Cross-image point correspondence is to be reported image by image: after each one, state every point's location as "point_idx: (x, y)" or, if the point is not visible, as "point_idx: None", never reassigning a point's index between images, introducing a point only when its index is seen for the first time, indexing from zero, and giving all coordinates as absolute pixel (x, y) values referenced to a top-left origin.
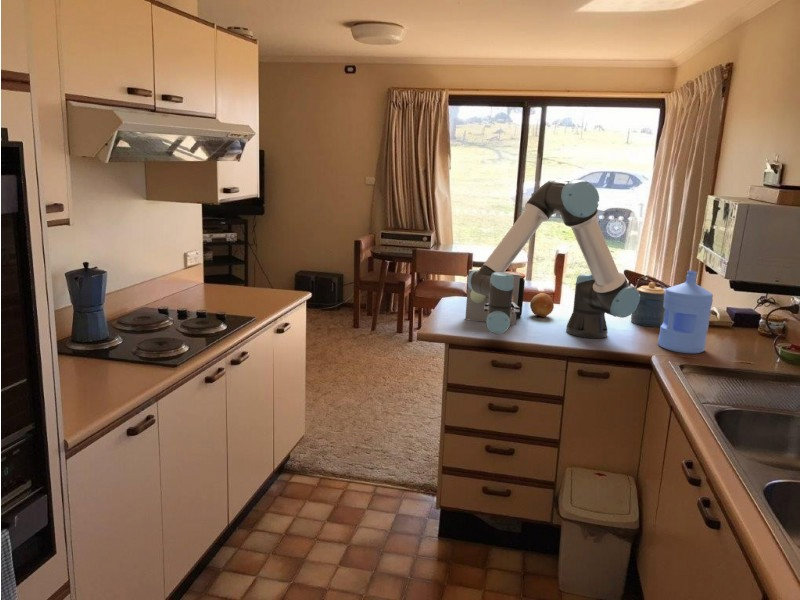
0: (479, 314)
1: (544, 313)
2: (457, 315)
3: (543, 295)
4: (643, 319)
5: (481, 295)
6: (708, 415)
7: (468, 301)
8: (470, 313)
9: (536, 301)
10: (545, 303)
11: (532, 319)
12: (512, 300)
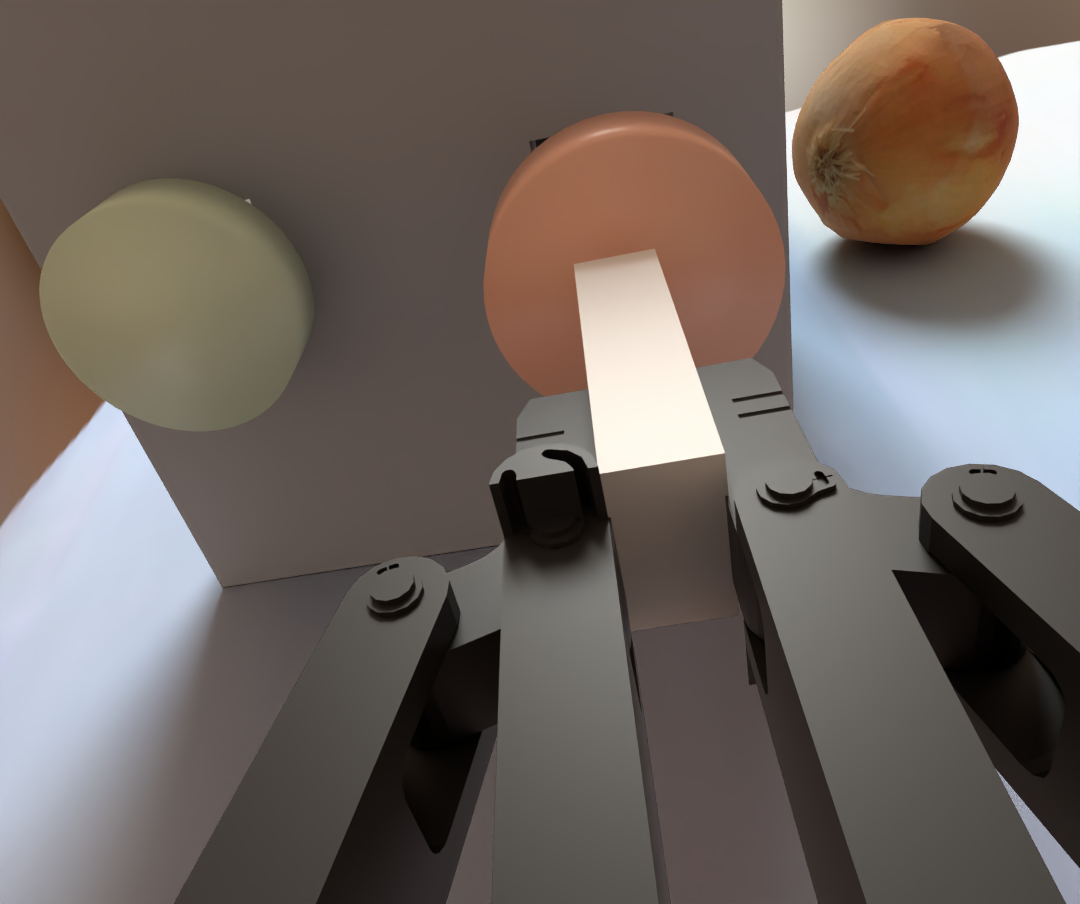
0: (348, 506)
1: (960, 215)
2: (175, 508)
3: (927, 39)
4: None
5: (227, 313)
6: None
7: None
8: (244, 521)
9: (875, 122)
10: (973, 117)
11: (876, 311)
12: (773, 275)
